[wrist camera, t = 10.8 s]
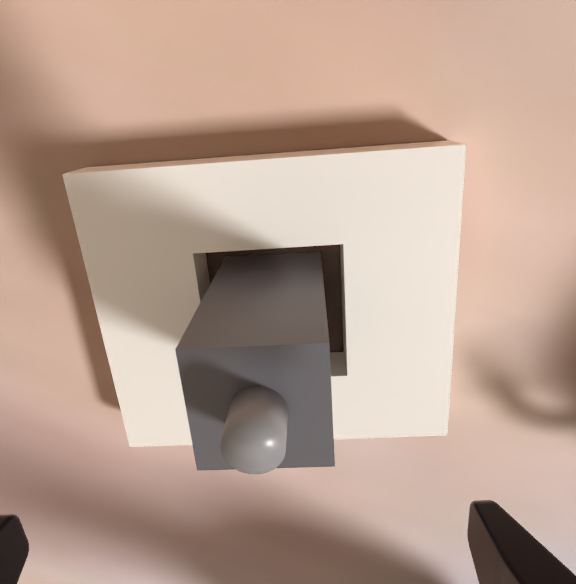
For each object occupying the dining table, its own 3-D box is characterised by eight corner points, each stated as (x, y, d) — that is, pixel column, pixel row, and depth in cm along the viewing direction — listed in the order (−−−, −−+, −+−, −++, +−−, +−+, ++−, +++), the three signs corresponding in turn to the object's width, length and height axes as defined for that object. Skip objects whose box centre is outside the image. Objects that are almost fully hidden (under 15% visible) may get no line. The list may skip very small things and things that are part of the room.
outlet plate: (448, 140, 17) (465, 144, 16) (435, 407, 22) (447, 435, 20) (86, 167, 18) (61, 174, 16) (144, 419, 23) (129, 447, 21)
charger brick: (320, 251, 19) (332, 374, 10) (324, 337, 21) (338, 508, 12) (225, 256, 20) (158, 381, 11) (235, 341, 21) (184, 512, 12)
